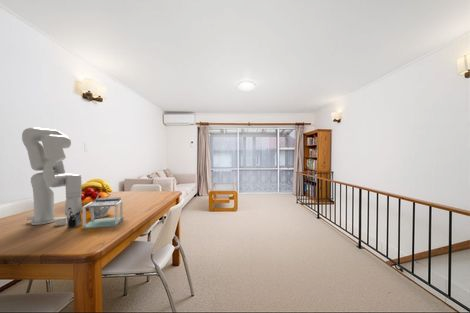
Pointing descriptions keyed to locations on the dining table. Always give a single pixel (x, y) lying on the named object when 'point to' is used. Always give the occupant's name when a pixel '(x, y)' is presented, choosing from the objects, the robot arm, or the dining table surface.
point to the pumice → (61, 221)
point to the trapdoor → (105, 202)
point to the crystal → (100, 211)
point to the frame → (102, 222)
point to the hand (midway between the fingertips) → (74, 224)
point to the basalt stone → (76, 220)
